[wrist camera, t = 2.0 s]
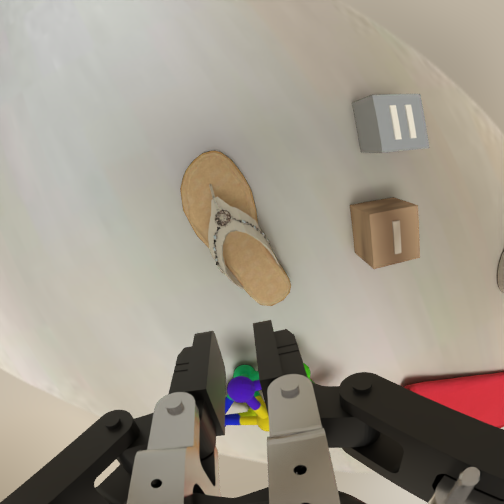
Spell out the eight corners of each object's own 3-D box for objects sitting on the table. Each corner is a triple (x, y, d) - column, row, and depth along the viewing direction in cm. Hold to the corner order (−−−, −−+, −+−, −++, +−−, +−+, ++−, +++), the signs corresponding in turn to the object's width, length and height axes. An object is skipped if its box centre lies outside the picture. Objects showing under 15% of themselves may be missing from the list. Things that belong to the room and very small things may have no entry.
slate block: (395, 100, 27) (421, 93, 22) (403, 147, 29) (430, 148, 24) (351, 103, 27) (373, 94, 22) (360, 152, 29) (383, 152, 24)
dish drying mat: (504, 419, 47) (511, 429, 43) (360, 445, 42) (367, 462, 39) (538, 363, 42) (548, 372, 39) (403, 372, 38) (414, 388, 34)
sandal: (220, 142, 28) (217, 139, 23) (308, 273, 32) (320, 294, 28) (162, 183, 29) (149, 189, 24) (254, 308, 33) (257, 333, 28)
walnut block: (392, 197, 30) (418, 205, 25) (396, 243, 32) (420, 258, 27) (349, 204, 30) (370, 214, 25) (354, 252, 32) (374, 269, 27)
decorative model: (295, 453, 35) (188, 448, 29) (283, 399, 42) (185, 382, 36) (370, 411, 30) (255, 402, 23) (346, 349, 36) (241, 320, 30)
